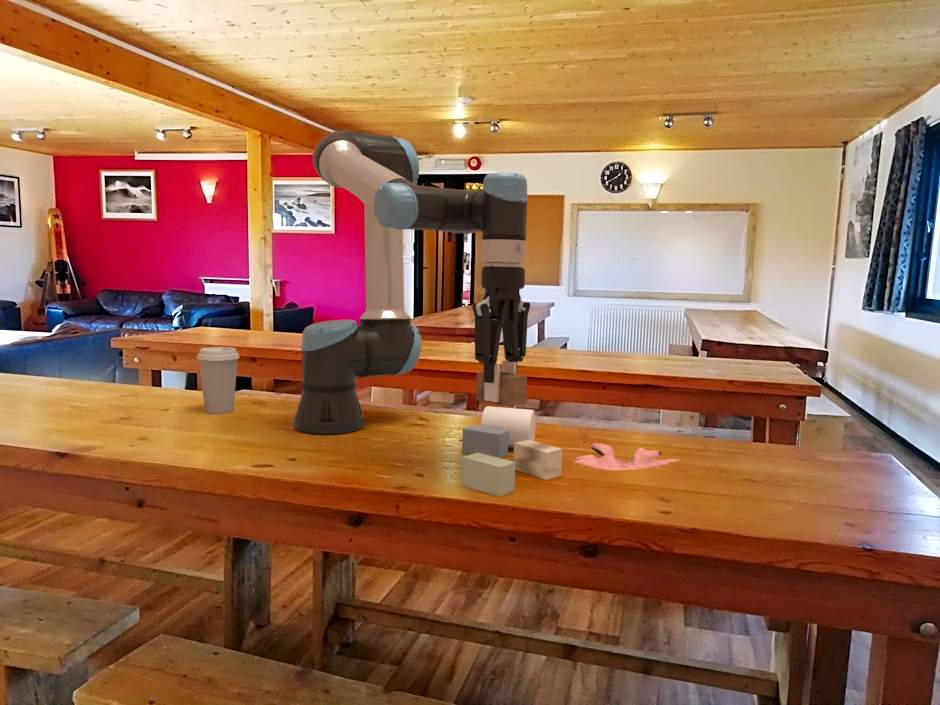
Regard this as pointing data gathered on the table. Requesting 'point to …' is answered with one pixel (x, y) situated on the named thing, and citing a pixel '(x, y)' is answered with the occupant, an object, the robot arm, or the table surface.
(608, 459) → the cloth
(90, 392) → the table surface
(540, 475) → the birch brick
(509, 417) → the mug
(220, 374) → the coffee cup
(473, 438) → the slate brick
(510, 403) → the walnut brick
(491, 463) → the sage brick
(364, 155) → the robot arm
